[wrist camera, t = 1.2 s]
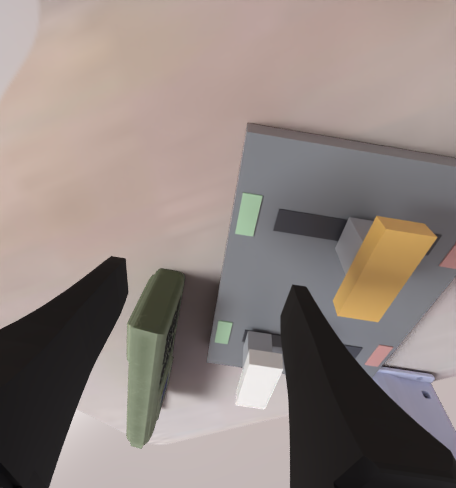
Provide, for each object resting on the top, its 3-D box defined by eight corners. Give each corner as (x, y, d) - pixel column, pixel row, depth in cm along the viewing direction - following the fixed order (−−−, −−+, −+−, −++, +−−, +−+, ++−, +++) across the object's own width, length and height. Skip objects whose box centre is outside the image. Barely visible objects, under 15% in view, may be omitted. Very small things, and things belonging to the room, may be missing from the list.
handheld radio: (191, 272, 25) (165, 406, 39) (153, 263, 24) (141, 401, 39) (170, 337, 19) (148, 465, 34) (121, 326, 19) (120, 459, 33)
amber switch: (398, 196, 16) (437, 237, 13) (356, 273, 20) (378, 322, 16) (358, 189, 16) (385, 228, 13) (322, 268, 20) (337, 316, 16)
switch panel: (508, 167, 17) (535, 180, 16) (359, 367, 30) (365, 386, 28) (247, 122, 17) (246, 132, 15) (209, 344, 30) (206, 363, 28)
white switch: (278, 321, 23) (283, 369, 20) (263, 362, 27) (264, 409, 23) (249, 316, 23) (249, 364, 20) (237, 358, 27) (235, 405, 23)
